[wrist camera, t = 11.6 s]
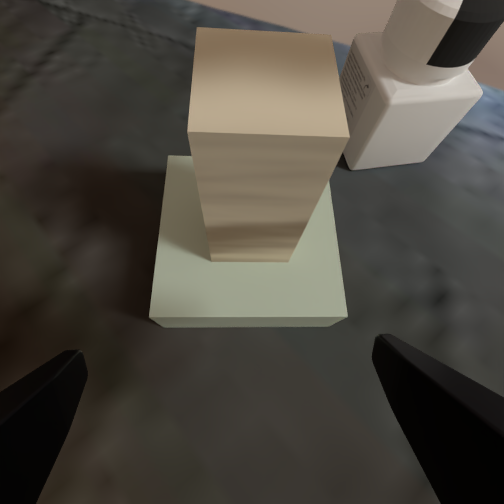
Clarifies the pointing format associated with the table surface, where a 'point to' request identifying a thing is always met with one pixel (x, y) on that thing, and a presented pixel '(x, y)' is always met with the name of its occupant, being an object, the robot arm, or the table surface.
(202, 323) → the sage base block
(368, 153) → the container
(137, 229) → the table surface
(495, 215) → the table surface
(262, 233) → the maple block
